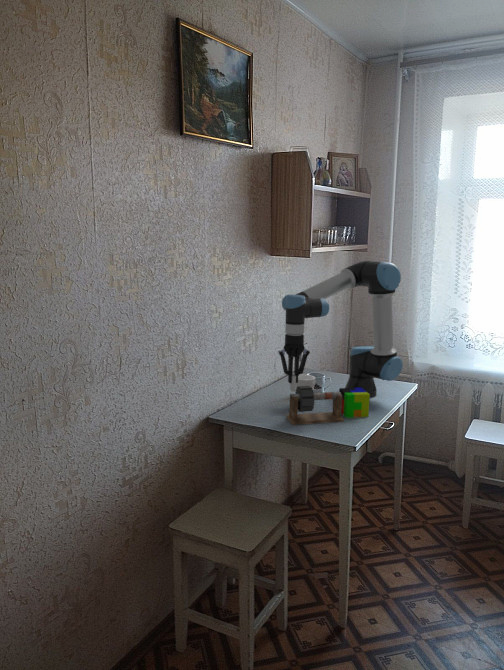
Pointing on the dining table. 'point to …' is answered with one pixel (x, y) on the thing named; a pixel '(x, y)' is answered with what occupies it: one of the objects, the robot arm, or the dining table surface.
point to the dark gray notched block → (305, 398)
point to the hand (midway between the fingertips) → (292, 390)
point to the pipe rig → (316, 417)
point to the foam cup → (305, 381)
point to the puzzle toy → (355, 402)
